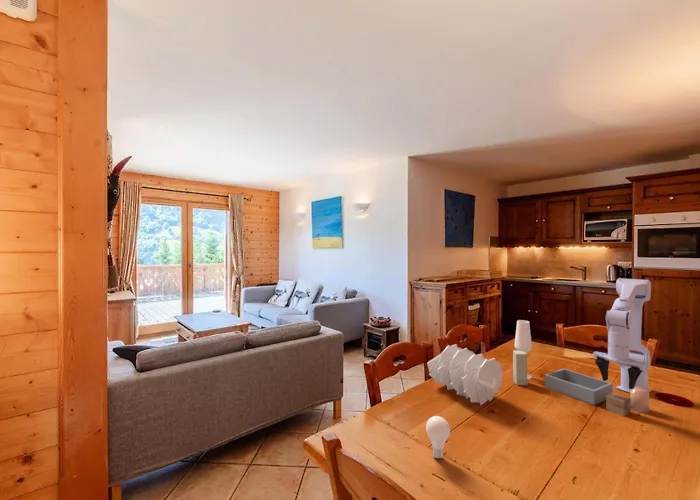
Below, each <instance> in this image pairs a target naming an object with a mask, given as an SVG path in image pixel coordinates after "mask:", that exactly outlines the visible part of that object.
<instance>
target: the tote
mask: <svg viewBox="0 0 700 500" xmlns="http://www.w3.org/2000/svg"><path fill="white" fill-rule="evenodd" d="M544 387H545V388H546V389H549V390H552V391H555V392H558V393H560V394H563V395H565V396H568V397H570V398H573V399H576V400H579V401H581V402H584V403H587V404H589V405H591V406H595V405H598V404H600V403H602V402H605V401H606V396H607V395H609V394H612V393H614V392H613V389H614V388H613V387H614V386H613V383H612V382H608V381H607V380H606V381H603V379H598V378H595V377H593V376H590V375H587V374H583V373H580V372H576V371H574V370H570V369H567V368H560V369H557V370H555V371H552V372H547V373H545V374H544Z"/></svg>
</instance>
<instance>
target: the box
mask: <svg viewBox="0 0 700 500" xmlns="http://www.w3.org/2000/svg"><path fill="white" fill-rule="evenodd" d="M512 366H513V367H512V374H513V375H512V378H513V379H512V380H513V382H514V384H516V385H517V386H528V379H527V374H528V353H525V352H524V351H518V350H512Z"/></svg>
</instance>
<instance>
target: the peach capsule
mask: <svg viewBox="0 0 700 500" xmlns="http://www.w3.org/2000/svg"><path fill="white" fill-rule="evenodd" d="M629 396H630V397H629V398H631V410H633V411H635V412H638V413H643V414H648V413H650V392H649V390H647V389H645V388H641V387H636V386H635V387H634V389H630V395H629Z"/></svg>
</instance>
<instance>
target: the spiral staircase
mask: <svg viewBox="0 0 700 500" xmlns="http://www.w3.org/2000/svg"><path fill="white" fill-rule="evenodd" d="M426 365H427V369H428V372H429V373H428V375H429V376H430V377H431V378H432V379H433V380H434V381H435V382H434V383H435V384H441V385H442V384H443V386H444V385H446V386H445V387H446V389H447V390H454V391H456V395H459V396H464V397H465V399H466V400H467V399H468V398H469V399H470V403H479V405H480V406H483V404H485V403H486V402H487V401H489V402H491V401H492V400H493V398H494V396H495V393H499V390H500V388H502V386H503V382H502V377H503V376H504V371H503V370H502V368H501V366H502V363H501V362H500V361H497V360H496V358H495V357H493V358H489V359H487V358H485V357H484V355H483V353H479V354H476V353H474V351H472V350H469V349H468V348H467V347H465V348H461V347H458V344H457V343H455V344H452V345H449V344H447V346H446V347H445V349H444V350H443V351H441V352H440V354H438V355H436V356H435V357H433V358H432V359H430V360H429V361H428V362H426Z"/></svg>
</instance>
